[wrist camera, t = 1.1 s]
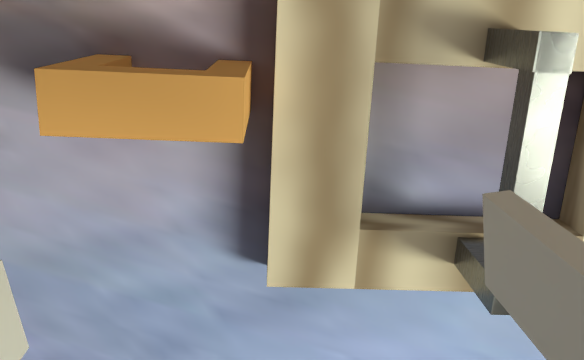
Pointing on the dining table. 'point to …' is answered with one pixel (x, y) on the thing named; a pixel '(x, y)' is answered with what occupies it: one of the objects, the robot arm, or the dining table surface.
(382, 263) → the beige open frame
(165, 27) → the dining table surface
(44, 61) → the dining table surface
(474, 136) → the dining table surface
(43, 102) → the orange u-shaped bracket
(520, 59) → the gray u-shaped bracket
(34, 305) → the dining table surface
